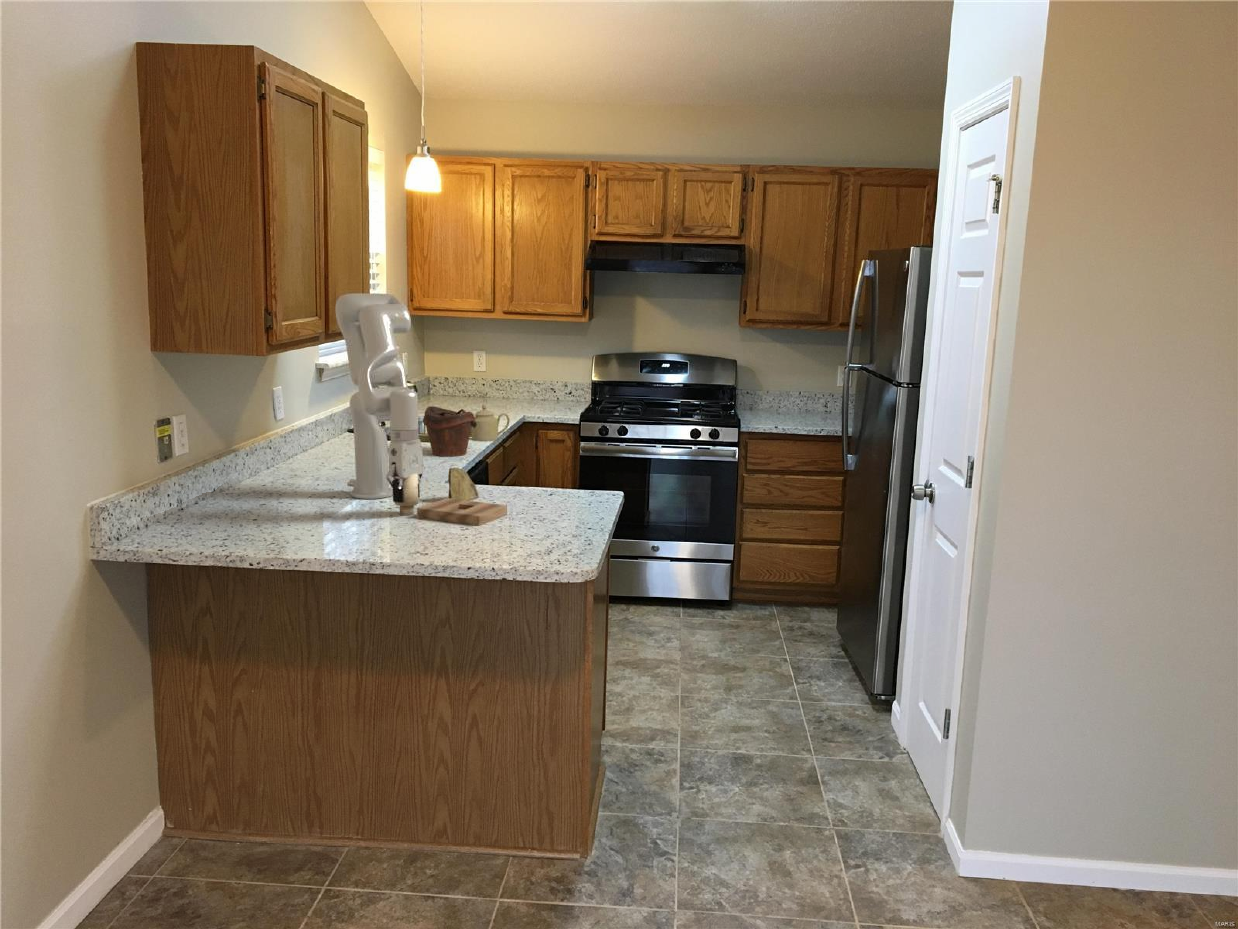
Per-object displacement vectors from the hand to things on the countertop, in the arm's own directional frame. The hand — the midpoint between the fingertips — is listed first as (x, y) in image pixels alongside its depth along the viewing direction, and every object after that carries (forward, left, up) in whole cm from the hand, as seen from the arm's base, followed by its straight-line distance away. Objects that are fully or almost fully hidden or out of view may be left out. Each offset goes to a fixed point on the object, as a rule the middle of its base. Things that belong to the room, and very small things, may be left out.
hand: (406, 499), depth 258 cm
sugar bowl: (-53, +125, -4) cm, 136 cm away
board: (+15, +5, -4) cm, 16 cm away
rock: (+4, +22, -5) cm, 23 cm away
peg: (0, 0, -4) cm, 4 cm away
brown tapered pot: (-46, +87, -4) cm, 98 cm away
